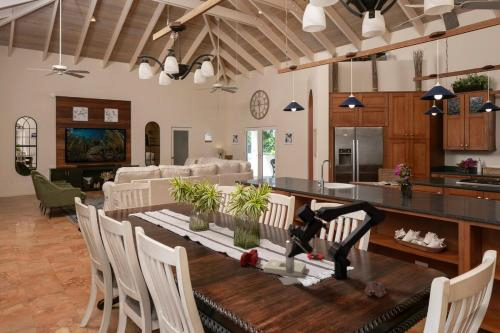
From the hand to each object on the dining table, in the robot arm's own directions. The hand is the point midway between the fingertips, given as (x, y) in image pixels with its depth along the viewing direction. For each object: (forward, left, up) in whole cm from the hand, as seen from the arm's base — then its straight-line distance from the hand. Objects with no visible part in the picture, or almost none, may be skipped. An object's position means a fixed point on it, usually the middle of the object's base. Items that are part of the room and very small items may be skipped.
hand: (287, 255), depth 156 cm
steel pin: (0, -1, -7) cm, 8 cm away
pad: (0, -1, -11) cm, 12 cm away
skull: (-21, -31, -12) cm, 39 cm away
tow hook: (+28, -25, -12) cm, 40 cm away
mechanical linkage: (+29, +9, -12) cm, 33 cm away
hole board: (+13, -3, -11) cm, 18 cm away
